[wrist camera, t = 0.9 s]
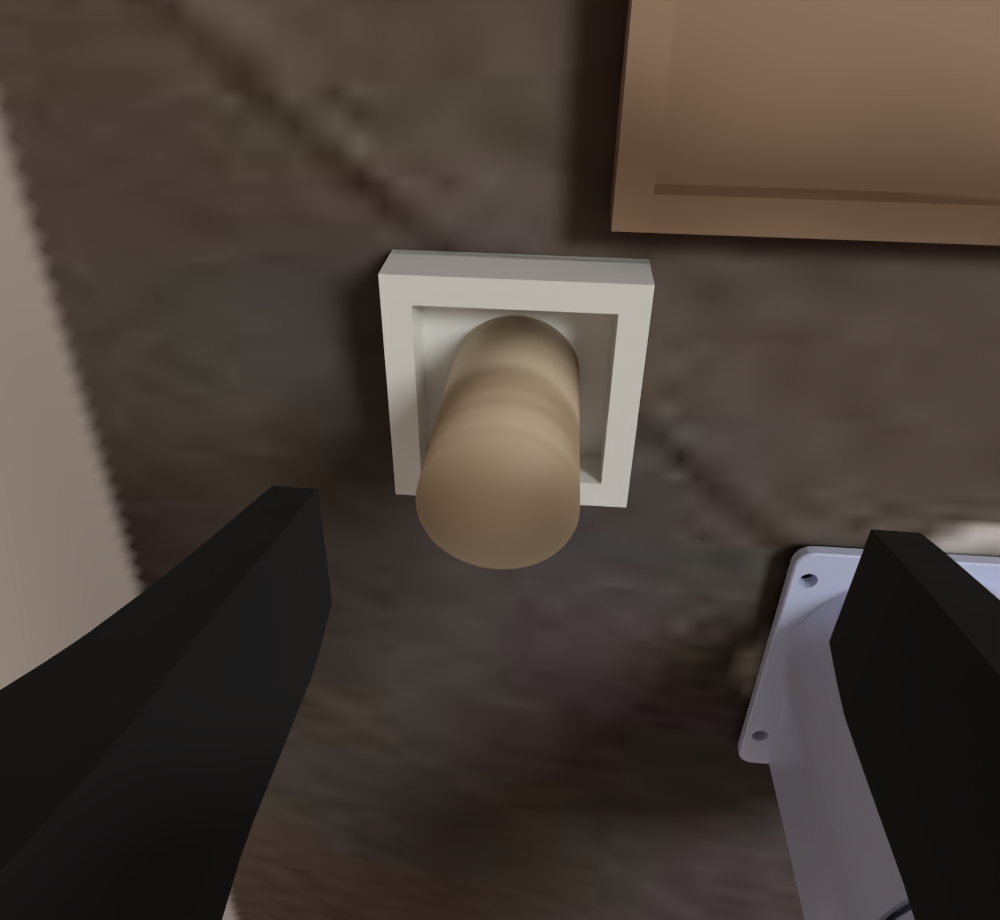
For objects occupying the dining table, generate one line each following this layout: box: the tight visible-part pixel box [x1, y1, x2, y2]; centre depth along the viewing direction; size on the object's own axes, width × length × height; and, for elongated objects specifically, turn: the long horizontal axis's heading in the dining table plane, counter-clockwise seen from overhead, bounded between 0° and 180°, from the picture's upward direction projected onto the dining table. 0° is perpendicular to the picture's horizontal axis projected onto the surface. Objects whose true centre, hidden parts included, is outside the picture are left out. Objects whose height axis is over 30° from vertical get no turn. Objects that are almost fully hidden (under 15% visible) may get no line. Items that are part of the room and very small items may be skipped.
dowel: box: [416, 315, 580, 569], centre depth 18 cm, size 3×3×6 cm
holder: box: [378, 249, 655, 507], centre depth 19 cm, size 6×6×2 cm
